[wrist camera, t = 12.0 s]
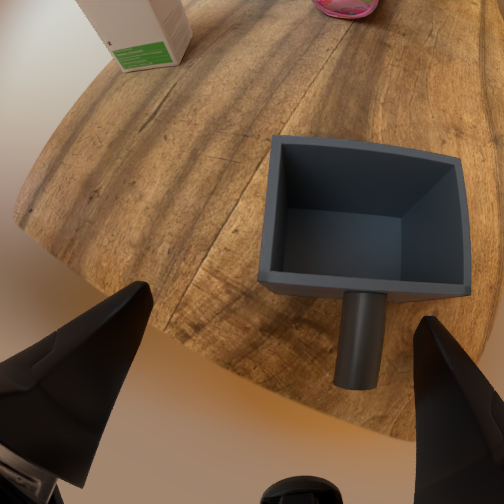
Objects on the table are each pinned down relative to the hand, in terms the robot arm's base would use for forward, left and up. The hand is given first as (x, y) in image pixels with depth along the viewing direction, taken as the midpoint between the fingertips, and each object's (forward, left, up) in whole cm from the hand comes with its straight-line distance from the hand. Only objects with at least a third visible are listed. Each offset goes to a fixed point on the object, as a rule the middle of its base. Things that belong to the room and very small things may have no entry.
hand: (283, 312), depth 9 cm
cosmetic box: (+32, +10, -13) cm, 36 cm away
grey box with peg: (+1, -4, -13) cm, 14 cm away
